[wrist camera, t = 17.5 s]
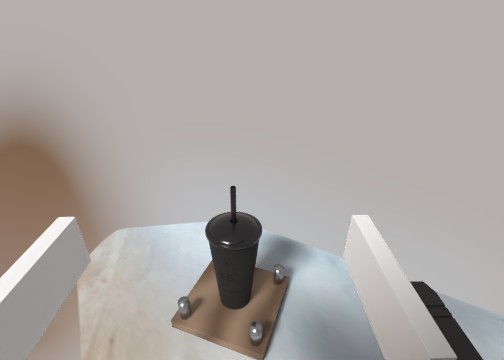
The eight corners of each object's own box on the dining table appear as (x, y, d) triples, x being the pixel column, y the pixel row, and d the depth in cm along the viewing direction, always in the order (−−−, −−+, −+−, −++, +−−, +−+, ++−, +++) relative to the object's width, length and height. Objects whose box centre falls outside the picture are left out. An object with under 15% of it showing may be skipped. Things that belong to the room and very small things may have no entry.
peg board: (288, 283, 50) (290, 264, 47) (262, 361, 38) (263, 341, 36) (215, 261, 54) (214, 243, 52) (172, 326, 42) (168, 306, 40)
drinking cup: (215, 276, 49) (208, 171, 39) (260, 279, 48) (264, 174, 39) (206, 316, 42) (195, 202, 32) (258, 320, 42) (262, 206, 32)
